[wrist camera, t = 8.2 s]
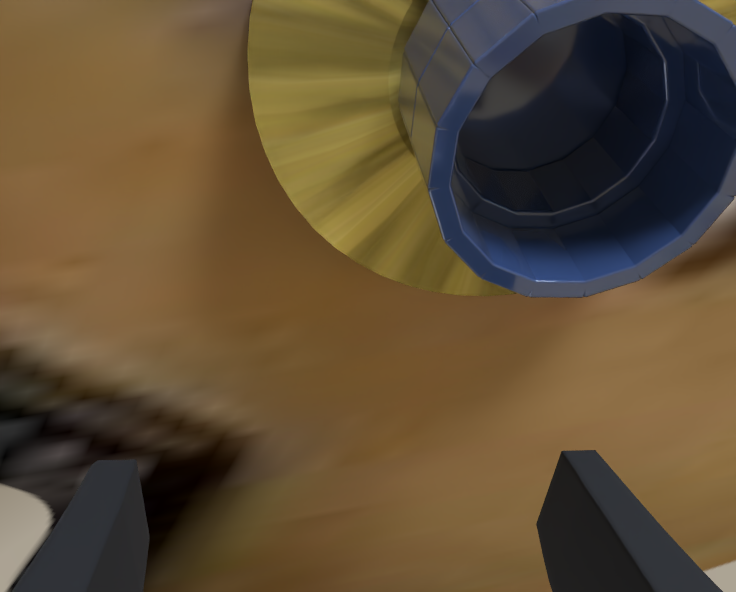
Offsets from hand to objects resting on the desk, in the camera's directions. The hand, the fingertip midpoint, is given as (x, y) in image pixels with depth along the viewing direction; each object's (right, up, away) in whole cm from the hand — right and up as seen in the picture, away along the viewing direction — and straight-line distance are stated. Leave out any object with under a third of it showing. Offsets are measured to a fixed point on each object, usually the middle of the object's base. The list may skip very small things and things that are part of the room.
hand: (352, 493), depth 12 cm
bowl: (+4, +8, +3) cm, 10 cm away
